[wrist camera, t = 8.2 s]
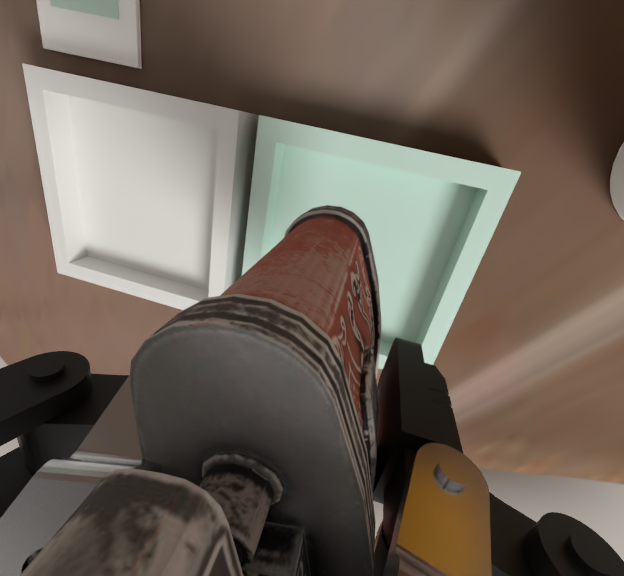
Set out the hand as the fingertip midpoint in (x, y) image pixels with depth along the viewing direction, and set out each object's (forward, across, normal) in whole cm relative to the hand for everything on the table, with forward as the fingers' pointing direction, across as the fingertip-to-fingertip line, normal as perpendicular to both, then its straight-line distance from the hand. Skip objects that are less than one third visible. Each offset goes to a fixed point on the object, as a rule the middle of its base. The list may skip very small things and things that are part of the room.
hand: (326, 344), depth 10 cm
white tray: (+10, +13, 0) cm, 17 cm away
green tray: (+10, 0, 0) cm, 10 cm away
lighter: (+2, 0, 0) cm, 2 cm away
